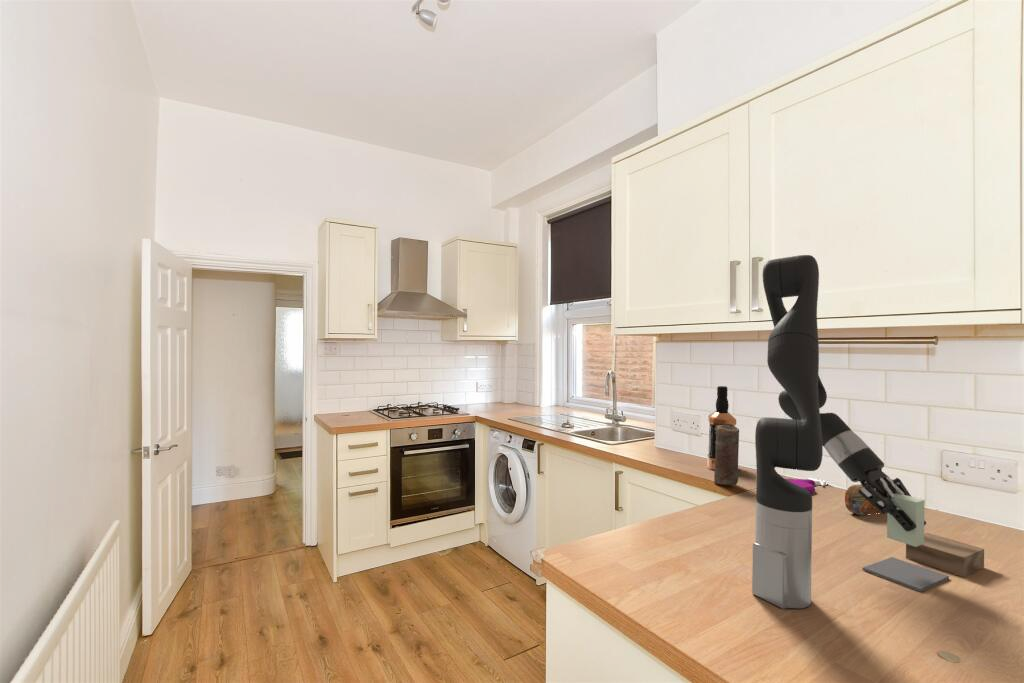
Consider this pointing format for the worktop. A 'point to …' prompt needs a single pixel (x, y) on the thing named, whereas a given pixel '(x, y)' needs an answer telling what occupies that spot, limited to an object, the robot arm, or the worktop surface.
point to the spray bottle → (807, 483)
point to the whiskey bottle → (718, 422)
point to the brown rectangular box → (947, 555)
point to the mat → (906, 574)
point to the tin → (858, 502)
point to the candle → (726, 455)
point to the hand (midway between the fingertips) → (916, 527)
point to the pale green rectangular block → (915, 513)
